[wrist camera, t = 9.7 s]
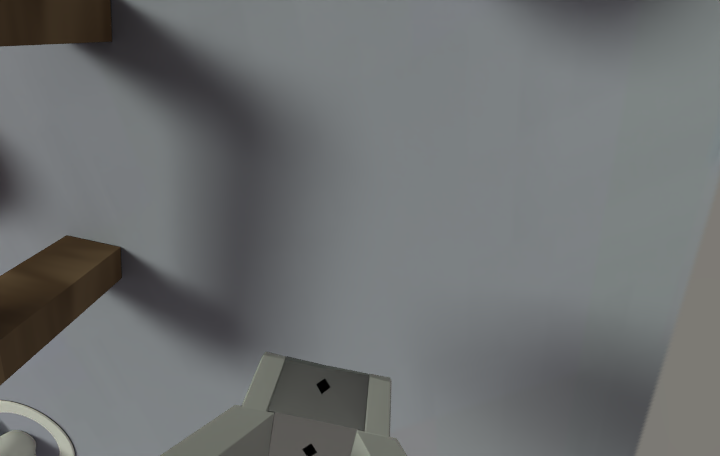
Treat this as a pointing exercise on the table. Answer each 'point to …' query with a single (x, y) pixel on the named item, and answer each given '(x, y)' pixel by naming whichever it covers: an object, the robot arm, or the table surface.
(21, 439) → the mug and donut ornament
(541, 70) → the table surface
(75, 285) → the bridge
